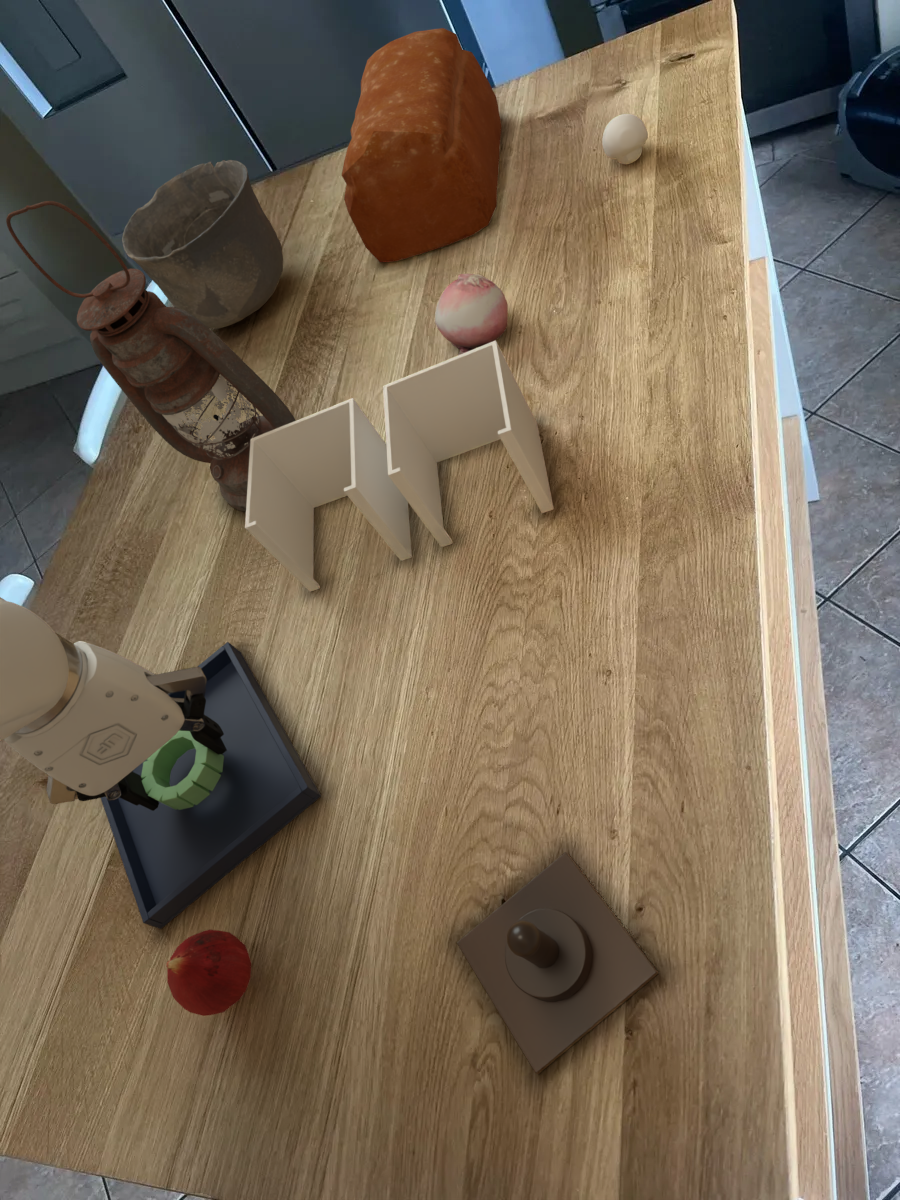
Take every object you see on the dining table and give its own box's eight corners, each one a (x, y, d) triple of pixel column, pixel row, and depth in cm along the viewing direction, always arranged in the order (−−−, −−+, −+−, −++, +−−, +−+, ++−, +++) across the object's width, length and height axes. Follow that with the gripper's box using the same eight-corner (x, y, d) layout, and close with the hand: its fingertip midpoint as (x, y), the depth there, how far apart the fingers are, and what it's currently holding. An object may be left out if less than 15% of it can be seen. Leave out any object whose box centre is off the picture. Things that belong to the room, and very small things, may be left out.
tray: (160, 929, 74) (143, 923, 73) (102, 765, 87) (86, 757, 85) (321, 796, 75) (307, 787, 73) (240, 652, 87) (227, 641, 85)
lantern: (224, 440, 106) (-13, 185, 79) (341, 423, 99) (125, 136, 72) (193, 517, 101) (-70, 273, 74) (314, 505, 94) (71, 229, 67)
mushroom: (616, 180, 101) (605, 140, 97) (603, 159, 104) (591, 120, 100) (658, 157, 100) (648, 116, 96) (643, 137, 103) (632, 97, 99)
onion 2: (532, 328, 94) (507, 275, 88) (476, 376, 94) (448, 326, 88) (489, 301, 99) (464, 249, 93) (436, 347, 99) (408, 297, 93)
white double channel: (536, 422, 87) (495, 340, 78) (553, 509, 80) (511, 429, 72) (310, 506, 94) (250, 438, 85) (309, 591, 87) (244, 528, 79)
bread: (371, 273, 111) (308, 169, 100) (390, 156, 124) (337, 51, 113) (500, 230, 105) (449, 113, 93) (507, 111, 118) (462, -5, 106)
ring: (172, 825, 77) (154, 816, 75) (150, 769, 82) (132, 759, 80) (234, 774, 77) (217, 764, 75) (208, 721, 82) (192, 710, 80)
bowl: (295, 234, 124) (231, 135, 112) (326, 298, 112) (258, 196, 101) (188, 303, 126) (115, 214, 114) (208, 373, 115) (129, 282, 103)
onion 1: (238, 927, 72) (174, 902, 65) (285, 966, 68) (222, 944, 62) (194, 994, 70) (125, 975, 64) (239, 1038, 67) (171, 1023, 61)
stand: (538, 1074, 57) (498, 1062, 52) (458, 944, 64) (416, 921, 58) (658, 973, 57) (632, 950, 52) (567, 853, 64) (535, 822, 58)
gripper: (-55, 795, 63) (120, 865, 76) (139, 636, 63) (278, 734, 77) (-69, 722, 67) (97, 801, 81) (111, 574, 68) (247, 677, 81)
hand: (184, 768), depth 79 cm, fingers closed on ring, 6 cm apart
